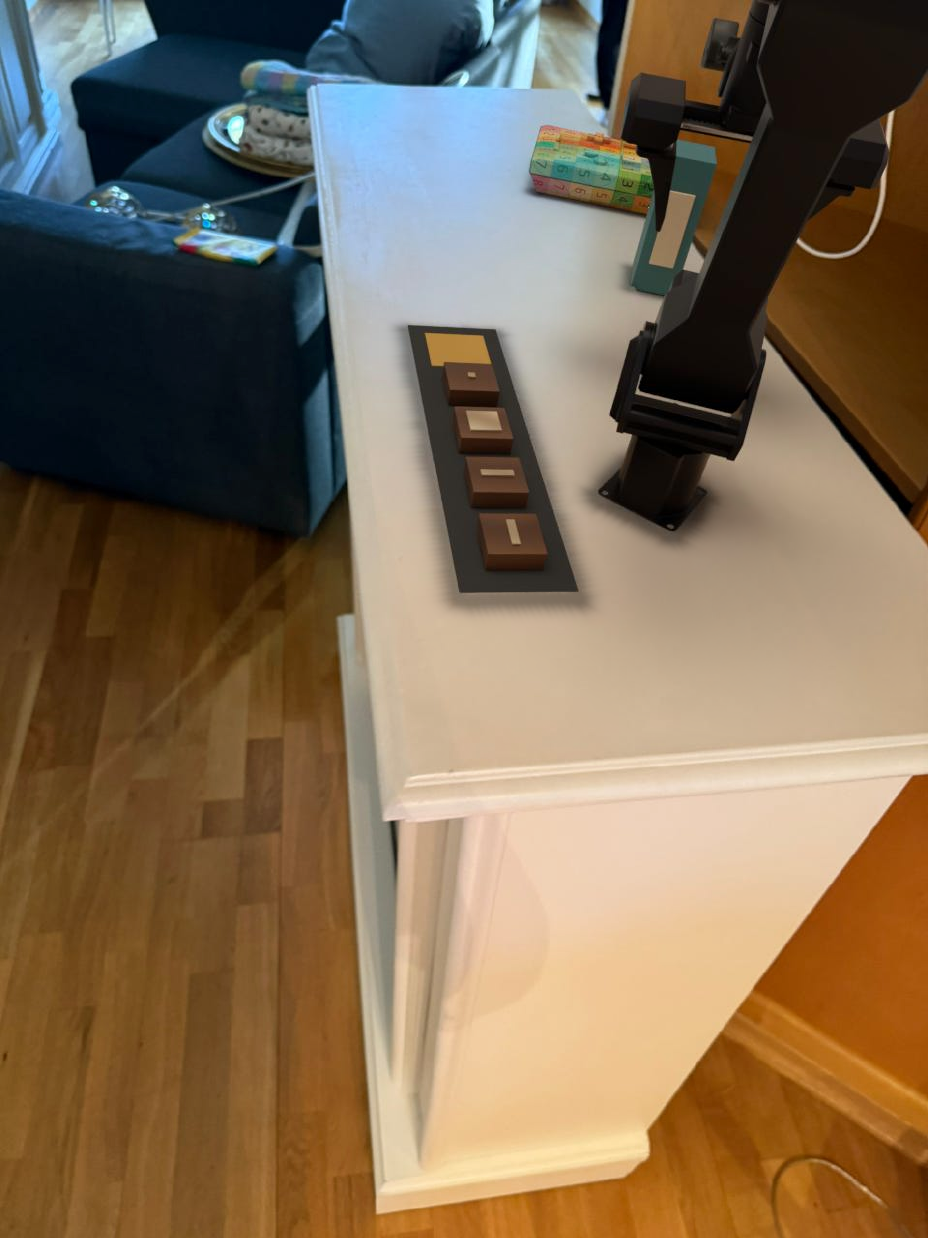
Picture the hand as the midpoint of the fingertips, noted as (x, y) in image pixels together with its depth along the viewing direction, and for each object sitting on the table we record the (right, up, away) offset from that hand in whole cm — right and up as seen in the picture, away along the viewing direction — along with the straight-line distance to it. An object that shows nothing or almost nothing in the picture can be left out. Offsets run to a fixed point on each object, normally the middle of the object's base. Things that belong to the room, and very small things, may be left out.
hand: (714, 239), depth 72 cm
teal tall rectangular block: (-1, +4, +21) cm, 21 cm away
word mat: (-19, -17, -2) cm, 25 cm away
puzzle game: (-2, +21, +36) cm, 42 cm away
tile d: (-20, -12, +1) cm, 23 cm away
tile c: (-19, -16, -3) cm, 25 cm away
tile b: (-18, -21, -7) cm, 28 cm away
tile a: (-17, -26, -11) cm, 33 cm away
